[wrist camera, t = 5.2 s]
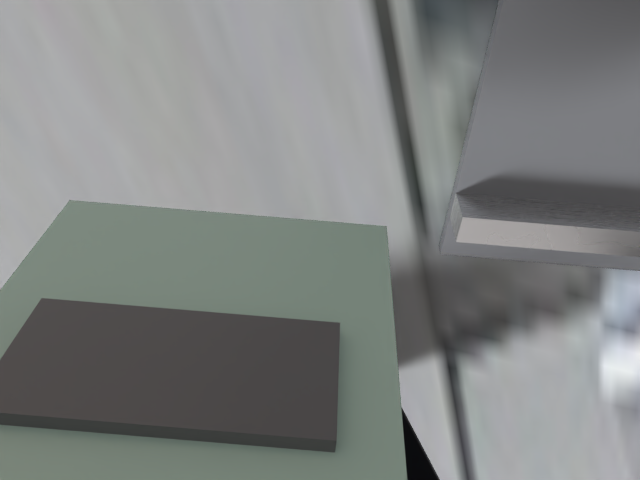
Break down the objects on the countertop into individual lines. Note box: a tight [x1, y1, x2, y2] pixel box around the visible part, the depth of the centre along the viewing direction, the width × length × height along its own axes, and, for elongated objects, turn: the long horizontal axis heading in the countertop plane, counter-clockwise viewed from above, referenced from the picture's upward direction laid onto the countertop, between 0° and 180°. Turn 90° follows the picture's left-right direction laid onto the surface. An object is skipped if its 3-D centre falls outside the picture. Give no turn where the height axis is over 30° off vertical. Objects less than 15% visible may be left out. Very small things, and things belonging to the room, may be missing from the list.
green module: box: [0, 200, 407, 480], centre depth 8 cm, size 5×6×5 cm
